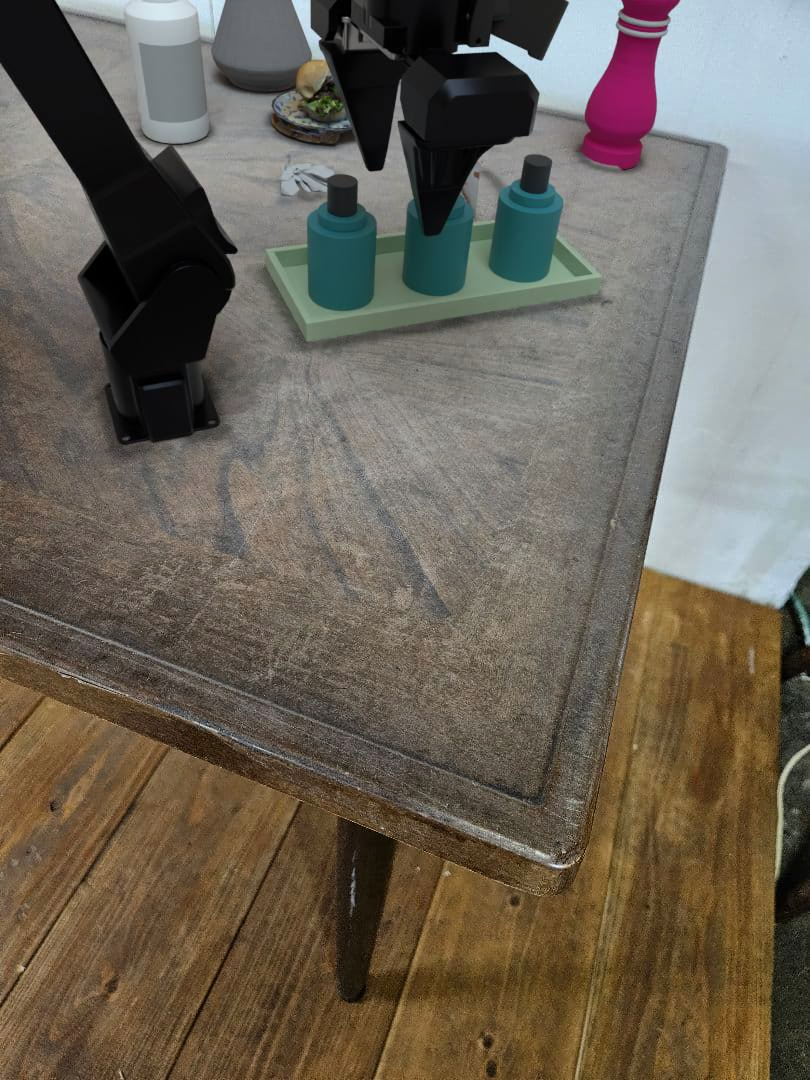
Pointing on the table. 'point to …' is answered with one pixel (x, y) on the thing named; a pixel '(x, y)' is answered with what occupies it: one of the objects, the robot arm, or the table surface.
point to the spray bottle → (168, 69)
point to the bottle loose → (438, 252)
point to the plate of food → (311, 106)
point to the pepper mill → (627, 86)
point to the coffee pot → (260, 44)
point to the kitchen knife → (472, 187)
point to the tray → (410, 307)
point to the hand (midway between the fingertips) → (401, 200)
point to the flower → (304, 177)
